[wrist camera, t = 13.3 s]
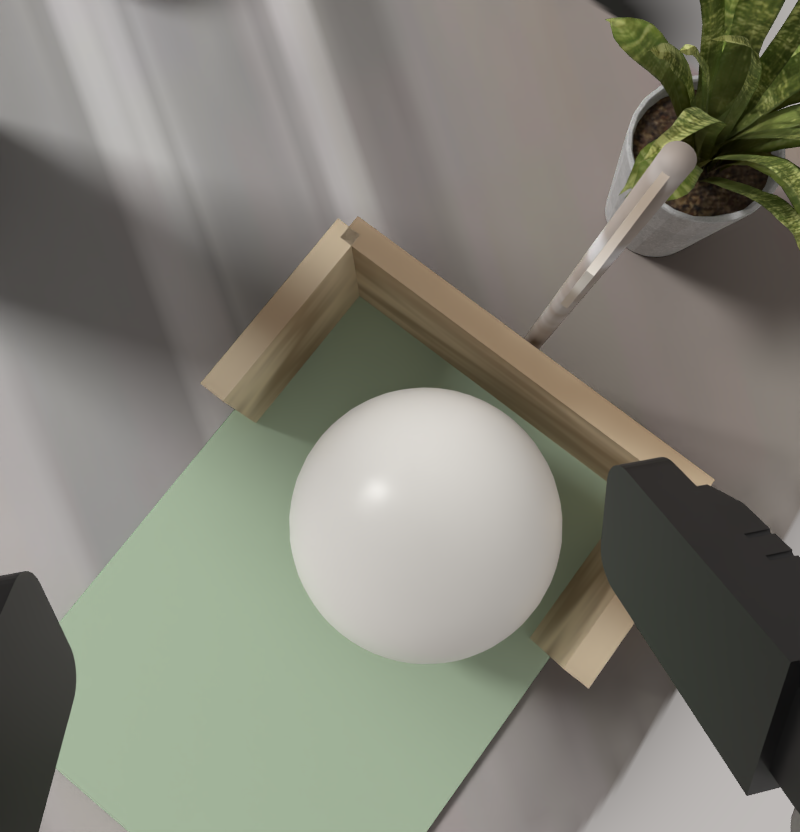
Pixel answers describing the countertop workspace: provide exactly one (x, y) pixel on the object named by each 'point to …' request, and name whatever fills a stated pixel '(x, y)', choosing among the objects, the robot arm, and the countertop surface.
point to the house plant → (715, 122)
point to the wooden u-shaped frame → (475, 372)
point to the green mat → (284, 637)
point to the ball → (425, 525)
